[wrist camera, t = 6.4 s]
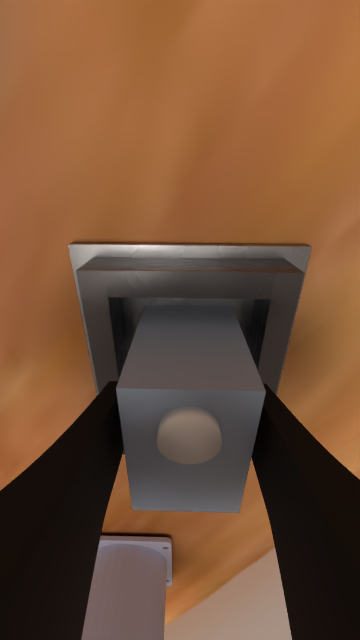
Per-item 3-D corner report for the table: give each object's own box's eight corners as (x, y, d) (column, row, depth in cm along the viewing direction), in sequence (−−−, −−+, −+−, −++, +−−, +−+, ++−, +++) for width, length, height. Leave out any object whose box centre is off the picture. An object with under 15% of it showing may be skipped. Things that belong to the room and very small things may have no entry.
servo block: (220, 402, 14) (241, 528, 9) (150, 401, 14) (129, 525, 9) (232, 306, 12) (271, 405, 6) (144, 304, 12) (111, 402, 6)
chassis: (265, 424, 16) (278, 463, 14) (105, 421, 16) (93, 459, 14) (306, 244, 11) (338, 258, 9) (72, 242, 11) (44, 255, 9)
